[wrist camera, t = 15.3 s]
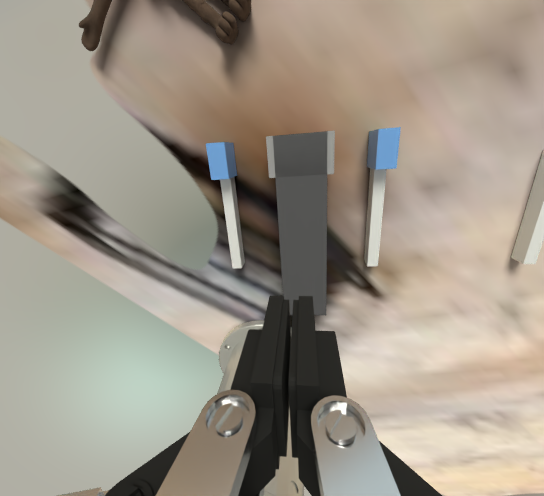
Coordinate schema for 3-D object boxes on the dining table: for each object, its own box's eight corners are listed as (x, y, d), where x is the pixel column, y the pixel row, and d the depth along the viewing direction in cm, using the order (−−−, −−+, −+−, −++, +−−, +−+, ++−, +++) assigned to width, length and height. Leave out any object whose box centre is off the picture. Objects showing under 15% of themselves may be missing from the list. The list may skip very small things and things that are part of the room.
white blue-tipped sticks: (522, 257, 25) (550, 271, 22) (233, 262, 28) (226, 274, 26) (567, 115, 20) (610, 109, 17) (217, 144, 24) (205, 143, 21)
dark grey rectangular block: (326, 288, 28) (331, 315, 24) (283, 288, 29) (279, 314, 24) (328, 134, 23) (334, 130, 18) (273, 138, 23) (266, 136, 19)
